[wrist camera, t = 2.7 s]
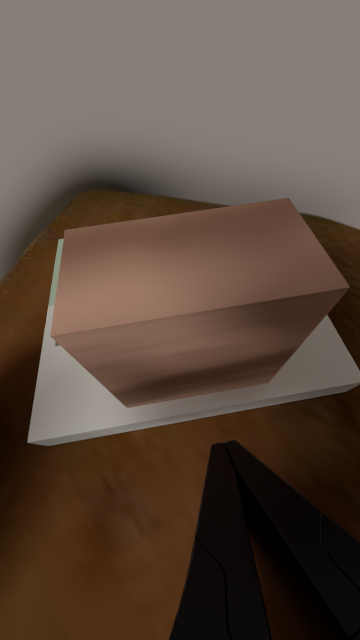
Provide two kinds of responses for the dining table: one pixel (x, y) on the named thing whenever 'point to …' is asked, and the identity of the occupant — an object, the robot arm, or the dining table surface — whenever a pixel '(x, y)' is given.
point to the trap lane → (113, 417)
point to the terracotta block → (192, 299)
